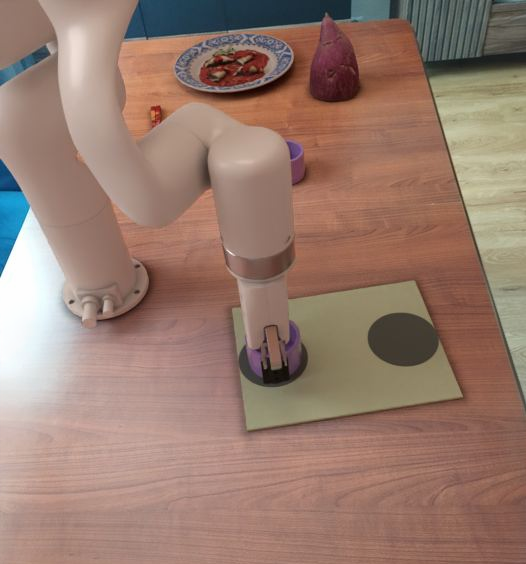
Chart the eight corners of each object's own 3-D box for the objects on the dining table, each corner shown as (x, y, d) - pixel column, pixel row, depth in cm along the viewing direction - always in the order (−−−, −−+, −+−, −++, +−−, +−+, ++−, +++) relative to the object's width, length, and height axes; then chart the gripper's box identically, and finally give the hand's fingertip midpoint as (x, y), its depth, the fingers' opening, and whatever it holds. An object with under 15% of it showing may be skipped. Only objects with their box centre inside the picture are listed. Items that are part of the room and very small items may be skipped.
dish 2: (307, 182, 99) (306, 159, 95) (268, 188, 99) (265, 165, 95) (301, 160, 103) (300, 137, 100) (263, 165, 103) (260, 142, 100)
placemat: (462, 398, 70) (463, 395, 69) (247, 431, 69) (246, 429, 69) (414, 282, 82) (414, 279, 82) (232, 310, 82) (231, 307, 82)
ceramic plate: (299, 93, 118) (299, 79, 115) (173, 107, 118) (169, 93, 116) (289, 37, 134) (288, 23, 131) (178, 50, 135) (175, 36, 132)
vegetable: (304, 101, 122) (283, 24, 112) (347, 80, 123) (330, 2, 113) (326, 111, 114) (306, 29, 104) (372, 89, 114) (356, 6, 105)
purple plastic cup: (305, 375, 73) (304, 353, 70) (252, 383, 73) (248, 361, 70) (296, 334, 77) (295, 311, 74) (246, 342, 77) (242, 320, 74)
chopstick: (154, 179, 103) (153, 174, 102) (151, 110, 118) (150, 106, 117) (165, 177, 103) (164, 172, 102) (161, 109, 118) (160, 104, 118)
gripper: (217, 202, 66) (235, 305, 79) (231, 314, 55) (249, 411, 69) (282, 192, 66) (289, 297, 80) (309, 302, 55) (312, 401, 69)
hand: (271, 349), depth 74 cm, fingers open, 9 cm apart
